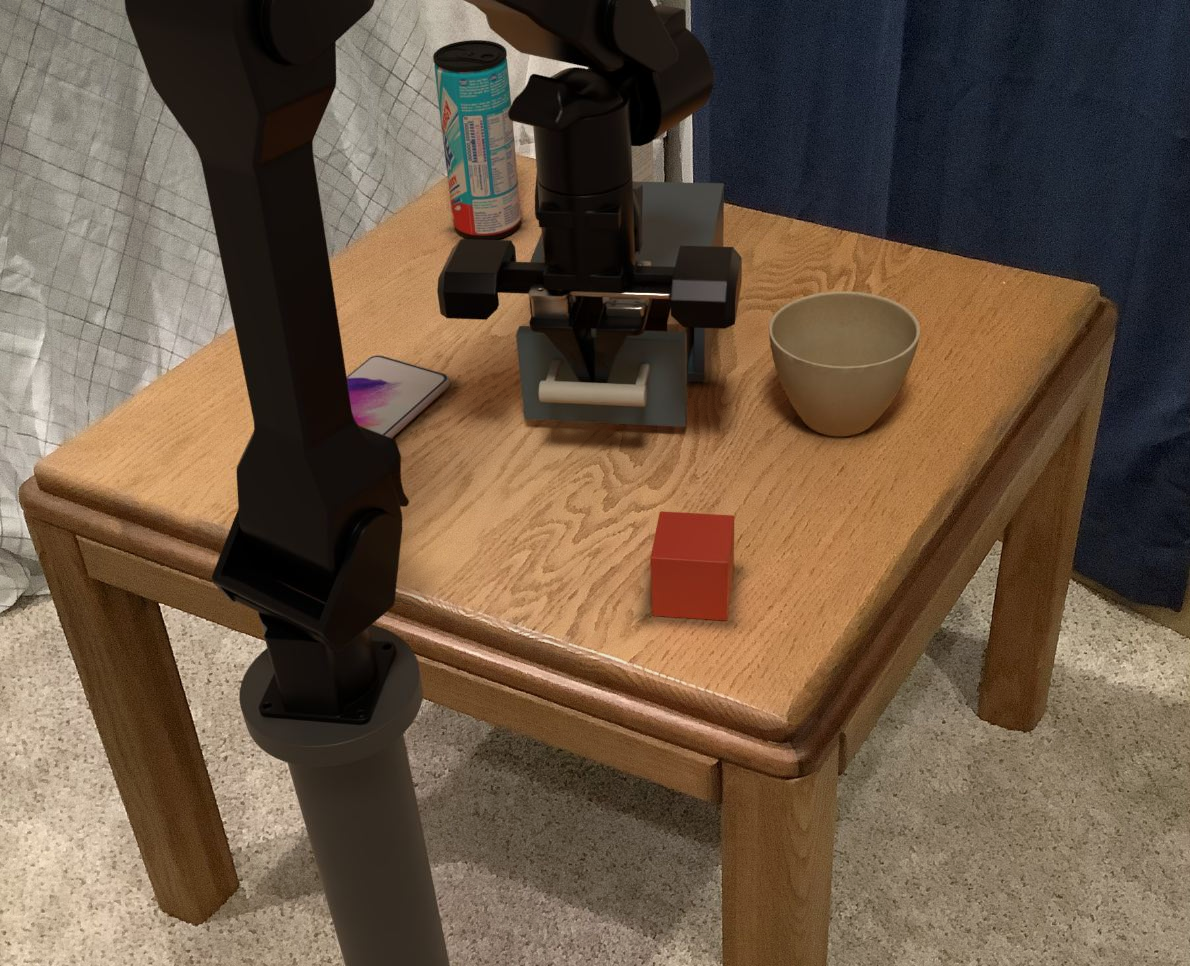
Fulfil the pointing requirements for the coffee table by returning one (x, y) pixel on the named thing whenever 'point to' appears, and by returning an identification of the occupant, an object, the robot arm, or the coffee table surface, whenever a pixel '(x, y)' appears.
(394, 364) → the smartphone
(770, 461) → the coffee table surface
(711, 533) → the block
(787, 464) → the coffee table surface
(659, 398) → the drawer
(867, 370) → the bowl
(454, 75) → the teal canister
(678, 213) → the cabinet
